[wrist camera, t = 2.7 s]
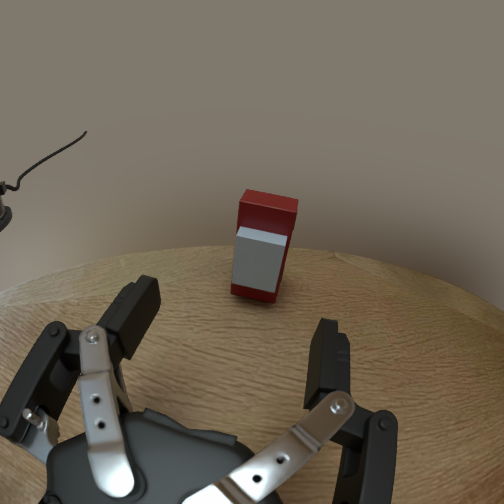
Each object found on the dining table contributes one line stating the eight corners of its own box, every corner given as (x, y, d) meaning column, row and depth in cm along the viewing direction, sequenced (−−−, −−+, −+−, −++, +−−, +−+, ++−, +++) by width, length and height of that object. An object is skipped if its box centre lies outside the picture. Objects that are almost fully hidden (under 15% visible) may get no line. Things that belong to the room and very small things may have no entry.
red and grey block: (225, 303, 26) (233, 208, 20) (237, 271, 29) (247, 184, 23) (273, 314, 25) (296, 221, 19) (280, 281, 29) (300, 194, 23)
